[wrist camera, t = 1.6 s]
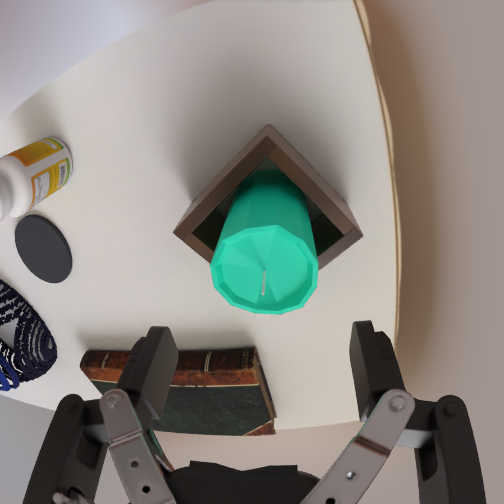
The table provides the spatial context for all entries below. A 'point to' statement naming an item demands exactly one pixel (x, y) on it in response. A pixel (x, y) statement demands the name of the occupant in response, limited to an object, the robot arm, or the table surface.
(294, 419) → the table surface
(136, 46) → the table surface
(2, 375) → the decorative bowl
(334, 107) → the table surface
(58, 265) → the coaster
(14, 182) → the supplement bottle
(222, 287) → the candle
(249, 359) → the book
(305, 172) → the square wooden box
